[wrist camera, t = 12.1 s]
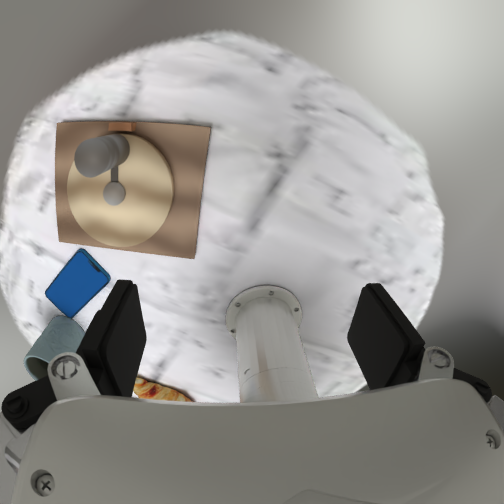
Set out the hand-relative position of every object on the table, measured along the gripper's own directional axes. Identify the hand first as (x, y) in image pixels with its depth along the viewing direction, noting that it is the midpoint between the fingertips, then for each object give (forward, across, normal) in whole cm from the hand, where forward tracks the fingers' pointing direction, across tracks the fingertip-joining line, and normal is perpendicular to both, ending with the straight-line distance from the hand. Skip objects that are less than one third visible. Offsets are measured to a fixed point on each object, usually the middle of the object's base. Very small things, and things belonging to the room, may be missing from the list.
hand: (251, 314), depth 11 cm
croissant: (+29, +13, +47) cm, 57 cm away
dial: (+26, +15, +1) cm, 31 cm away
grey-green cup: (+28, +32, +30) cm, 52 cm away
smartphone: (+29, +27, +18) cm, 44 cm away
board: (+28, +15, +1) cm, 32 cm away
